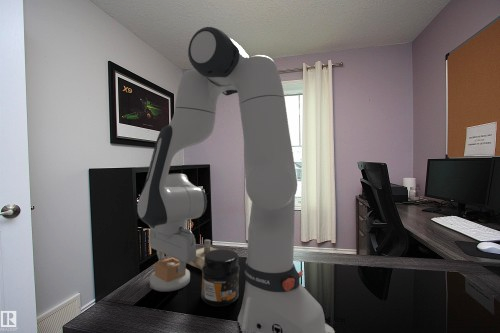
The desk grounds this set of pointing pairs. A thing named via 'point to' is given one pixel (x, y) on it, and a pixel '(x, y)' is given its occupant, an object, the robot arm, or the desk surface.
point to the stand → (201, 255)
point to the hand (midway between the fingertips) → (170, 268)
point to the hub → (171, 285)
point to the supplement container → (220, 277)
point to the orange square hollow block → (168, 270)
